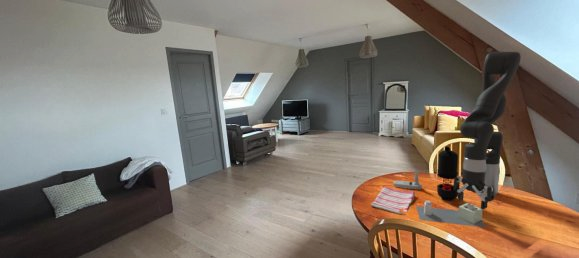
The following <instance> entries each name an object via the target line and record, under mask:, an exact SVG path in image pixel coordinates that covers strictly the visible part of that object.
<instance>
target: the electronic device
mask: <svg viewBox="0 0 579 258" xmlns="http://www.w3.org/2000/svg"><path fill="white" fill-rule="evenodd" d="M413 179H414V181H407V180H394V181H393V182H392V183H393V187H395V188H399V187H400V188H401V189H407V188H408V189H409V190H421V189H422V187H423V185H422V183H420V182H419V172H418V171H414V178H413Z"/></svg>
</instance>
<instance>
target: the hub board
mask: <svg viewBox="0 0 579 258" xmlns="http://www.w3.org/2000/svg"><path fill="white" fill-rule="evenodd" d="M474 206H475V204H472V203H469V204H467V209H470V210H472V211H473V210H474ZM415 207H416V212H417V214H418V218H419V220H420V221H425V222H427V221H428V222H437V223H442V224H443V223H445V224H452V225H461V226H468V227H478V228H488V227H487V226H486V224H485V223H484V222H483V220H480V221H478V222H476V223H474V224H473V223H470V222H468V221H466V220H464V219H462V218H459V217H458V212H459V209H458V210H457V209H449V208H448V209H447V208H438V207H437V208H436V207H433V205H432V202H431V201H430V200H425V201H424V203H423V206H418V205H416V206H415Z"/></svg>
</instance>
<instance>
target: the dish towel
mask: <svg viewBox="0 0 579 258" xmlns="http://www.w3.org/2000/svg"><path fill="white" fill-rule="evenodd" d="M415 195H416V193H415V191H413V190H411V191H409V190H408V191H407V190H399V189H394V188H391V187H389V186H383V188H382V189H381V190H380V192H379V193H378V195H376V198H375V199H374V201H372V202H371V204H370V205H371V207H374V208H376V209H380V210H383V211H387V212H391V213H393V214H397V215H404V216H407V214H406V213H407V212H408V209H409V207H411V205H412V202H413V201H414V199H415ZM401 210H402V211H403V212H406V213H403V212H402V211H401Z"/></svg>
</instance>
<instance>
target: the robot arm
mask: <svg viewBox="0 0 579 258" xmlns="http://www.w3.org/2000/svg"><path fill="white" fill-rule="evenodd" d="M520 64H521V53H520V52H519V51H491V52H489V53H487V55H486V56H485V58H484V63H483V68H482V69H483V71H482V73H483V74H482V89H481V93H480V94H479V96H478V97H477V100H476V101H475V104H474V107H473V109H472V111H470V112H469V115H468V116H467V117H465V119H464V120H463V121H462V123H461V125H460V128H459V129H460V130H459V131H460V134H461V135H462V136H463V137H466V138H472V139H474V142H468V143H465V145H464V152H463V153H464V155H463V160H462V161H463V162H462V173H461V175H462V177H461V176H459V175H457V177H455V178H454V179H453V184H452V185H453V189H454V190H456V191H457V192H458V196H457V200H458V201H459V202H462V201H464V193H465V192H464V191H469V192H471V193H474V194H476V195H477V196H478V197H479V198H480V199H481V201H480V208H481V209H483V210H485V209H487V208H488V203H489V202H490V203H491V202H492V201H494V200H495V196H497V195H498V192H499V181H500V176H499V174H500V164H501V163H500V161H501V154H502V148H503V147H502V146H503V138H504V137H503V134H502V133H501V132H500V131H495V128H494V125H493V123H495V122H496V121H497V120H498V119H500V118H501V117H502V116H503V114H504V113H505V110H506V105H507V97H506V95H505V92H506V90H507V88H508V87H509V86H510V83H511V81H512V80H513V78H514V76H515V74H516V73H517V70H518V68H519V67H520ZM495 75H502V76H501V77H500V78H499V79H498V80H497V81H496V79H495ZM487 150H490V151H489V152H487ZM460 183H462V186H461V185H460Z"/></svg>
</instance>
